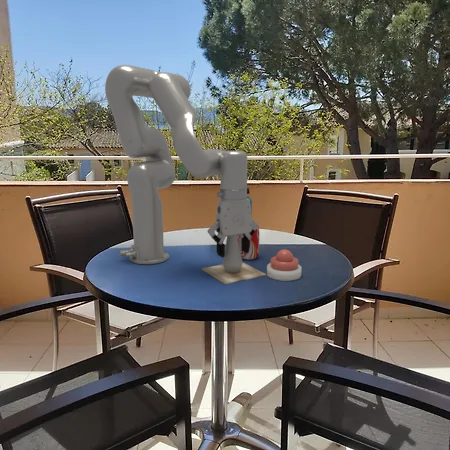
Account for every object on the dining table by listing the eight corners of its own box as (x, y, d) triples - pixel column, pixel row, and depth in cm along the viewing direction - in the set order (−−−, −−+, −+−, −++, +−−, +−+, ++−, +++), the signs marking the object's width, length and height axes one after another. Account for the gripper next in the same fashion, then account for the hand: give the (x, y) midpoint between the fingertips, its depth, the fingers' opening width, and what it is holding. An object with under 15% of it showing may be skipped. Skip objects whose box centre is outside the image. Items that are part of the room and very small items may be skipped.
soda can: (257, 261, 133) (258, 225, 130) (236, 260, 134) (236, 224, 131) (260, 254, 139) (260, 220, 137) (239, 253, 141) (239, 219, 138)
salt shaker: (231, 266, 126) (230, 225, 124) (246, 270, 123) (246, 227, 120) (219, 271, 122) (218, 228, 119) (234, 275, 118) (234, 231, 116)
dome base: (280, 283, 114) (281, 274, 114) (260, 272, 123) (260, 264, 122) (308, 276, 119) (308, 268, 118) (286, 266, 127) (286, 259, 127)
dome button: (281, 272, 115) (282, 255, 114) (265, 264, 122) (265, 248, 120) (303, 267, 119) (304, 251, 118) (286, 260, 125) (287, 244, 124)
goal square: (224, 284, 113) (224, 282, 113) (201, 269, 125) (201, 268, 125) (266, 275, 120) (266, 273, 120) (240, 262, 132) (240, 260, 132)
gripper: (213, 199, 110) (213, 262, 114) (266, 194, 118) (264, 252, 122) (200, 195, 116) (201, 255, 120) (251, 190, 124) (250, 246, 129)
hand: (233, 253), depth 121 cm, fingers open, 7 cm apart
